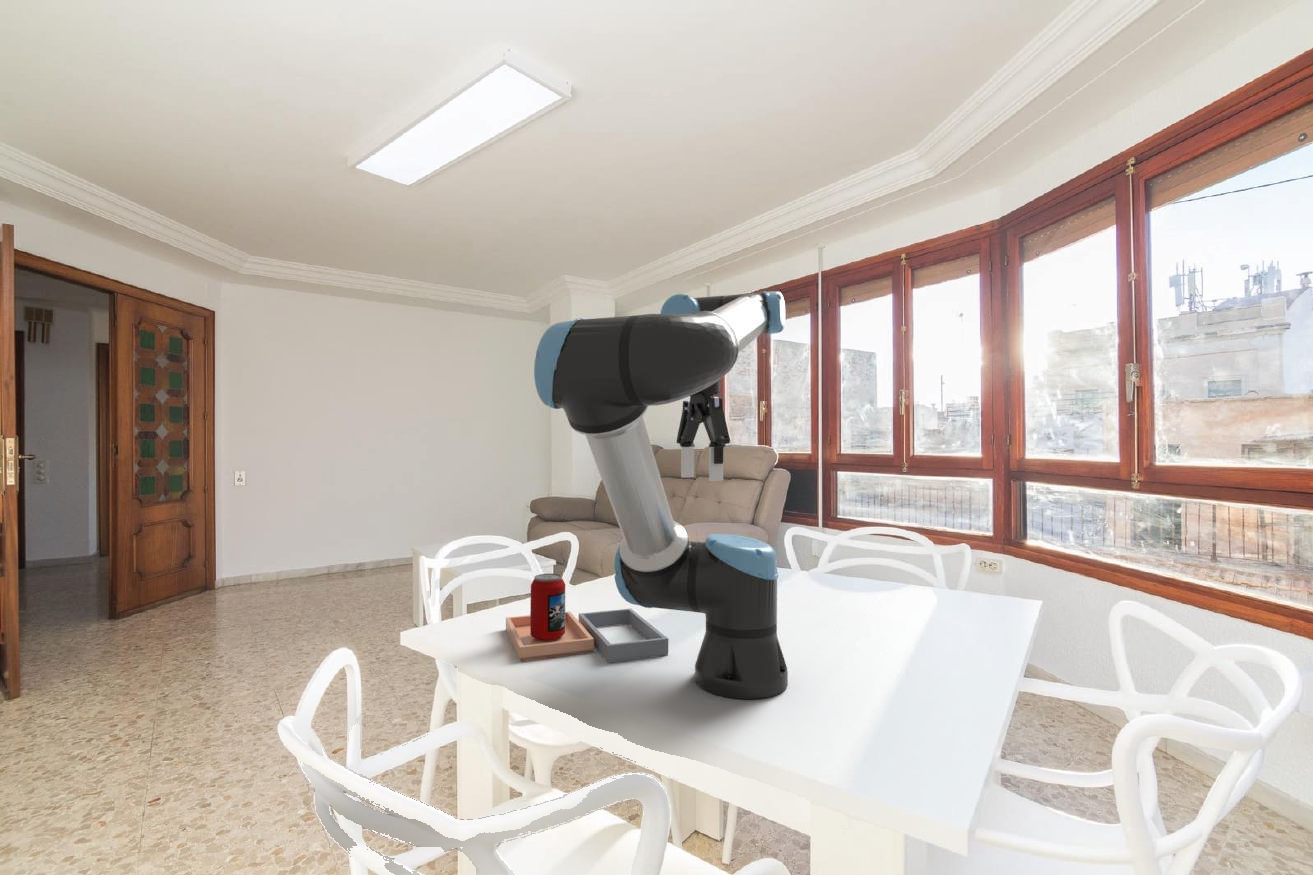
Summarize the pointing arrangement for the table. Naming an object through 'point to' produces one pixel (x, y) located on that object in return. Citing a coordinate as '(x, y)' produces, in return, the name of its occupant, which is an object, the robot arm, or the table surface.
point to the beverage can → (547, 607)
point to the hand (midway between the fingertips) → (701, 479)
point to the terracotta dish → (533, 649)
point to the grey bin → (627, 650)
